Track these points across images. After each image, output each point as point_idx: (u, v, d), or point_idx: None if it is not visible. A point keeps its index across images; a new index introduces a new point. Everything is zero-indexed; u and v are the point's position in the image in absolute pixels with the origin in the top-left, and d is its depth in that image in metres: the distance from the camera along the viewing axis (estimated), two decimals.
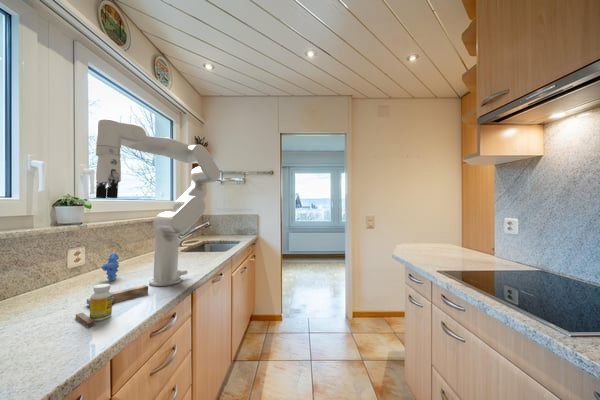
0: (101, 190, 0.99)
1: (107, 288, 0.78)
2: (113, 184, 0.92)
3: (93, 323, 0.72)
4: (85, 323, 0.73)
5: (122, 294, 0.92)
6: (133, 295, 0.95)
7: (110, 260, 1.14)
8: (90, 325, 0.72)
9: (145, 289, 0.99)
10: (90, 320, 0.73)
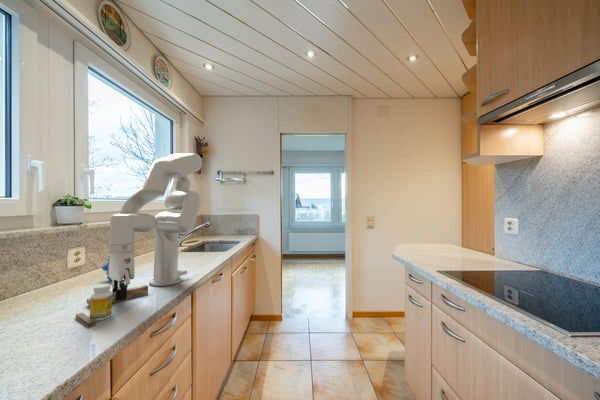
0: (117, 290, 0.93)
1: (107, 288, 0.78)
2: (122, 287, 0.91)
3: (93, 323, 0.72)
4: (85, 323, 0.73)
5: None
6: (133, 295, 0.95)
7: None
8: (90, 325, 0.72)
9: (145, 289, 0.99)
10: (90, 320, 0.73)
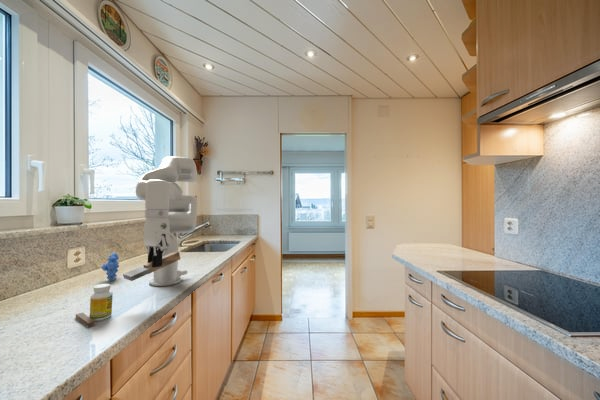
0: None
1: (107, 288, 0.78)
2: (159, 253, 0.89)
3: (93, 323, 0.72)
4: (85, 323, 0.73)
5: None
6: (167, 263, 0.94)
7: (110, 260, 1.14)
8: (90, 325, 0.72)
9: (177, 255, 0.97)
10: (90, 320, 0.73)
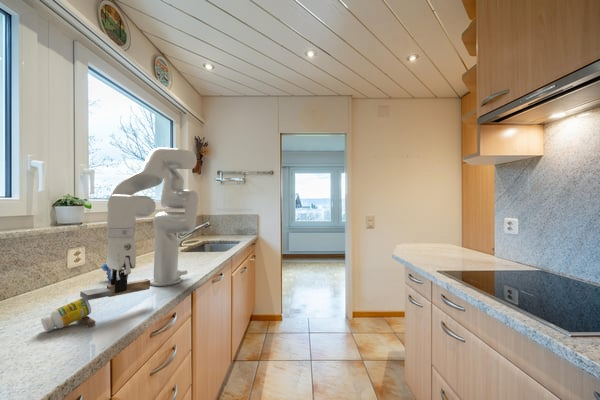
0: None
1: (48, 321, 0.68)
2: (122, 277, 0.80)
3: (93, 323, 0.72)
4: (85, 323, 0.73)
5: None
6: (133, 289, 0.84)
7: None
8: (90, 325, 0.72)
9: (147, 283, 0.88)
10: (90, 320, 0.73)
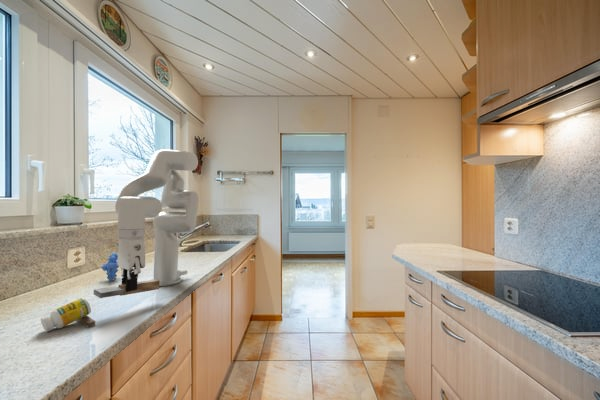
0: None
1: (47, 320, 0.68)
2: (132, 277, 0.83)
3: (93, 323, 0.72)
4: (85, 323, 0.73)
5: None
6: (143, 289, 0.87)
7: (110, 260, 1.14)
8: (90, 325, 0.72)
9: (156, 284, 0.91)
10: (90, 320, 0.73)
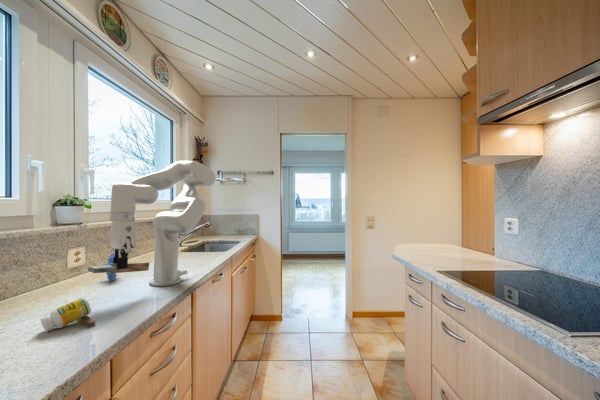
0: None
1: (47, 320, 0.68)
2: (123, 255, 0.91)
3: (93, 323, 0.72)
4: (85, 323, 0.73)
5: None
6: (134, 269, 0.96)
7: (110, 260, 1.14)
8: (90, 325, 0.72)
9: (146, 265, 0.99)
10: (90, 320, 0.73)
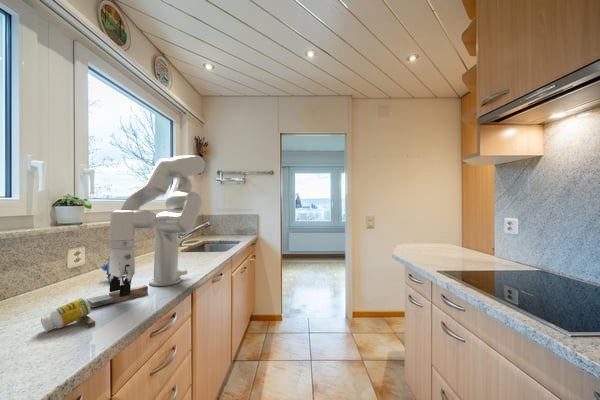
0: (115, 283, 0.95)
1: (47, 320, 0.68)
2: (126, 283, 0.89)
3: (93, 323, 0.72)
4: (85, 323, 0.73)
5: None
6: (133, 295, 0.95)
7: None
8: (90, 325, 0.72)
9: (145, 289, 0.99)
10: (90, 320, 0.73)
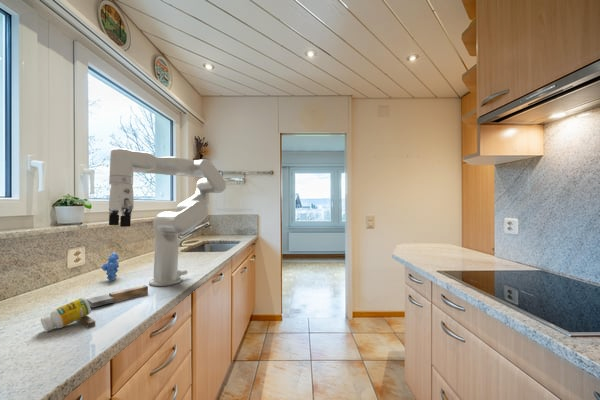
0: (114, 217, 1.00)
1: (47, 320, 0.68)
2: (126, 213, 0.94)
3: (93, 323, 0.72)
4: (85, 323, 0.73)
5: (122, 294, 0.92)
6: (133, 295, 0.95)
7: (110, 260, 1.14)
8: (90, 325, 0.72)
9: (145, 289, 0.99)
10: (90, 320, 0.73)
